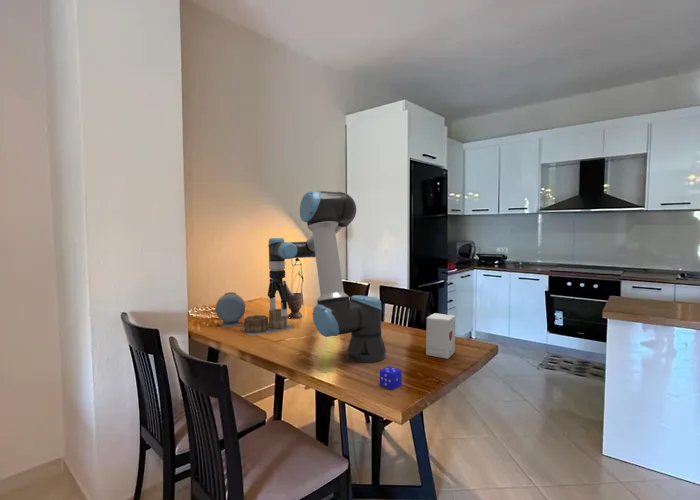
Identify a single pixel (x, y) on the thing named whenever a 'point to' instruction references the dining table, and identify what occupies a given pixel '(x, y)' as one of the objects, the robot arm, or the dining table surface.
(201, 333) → the dining table surface
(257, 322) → the walnut gear
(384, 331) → the dining table surface
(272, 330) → the gear board
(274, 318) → the maple gear
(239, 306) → the alarm clock
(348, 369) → the dining table surface
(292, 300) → the mortar and pestle
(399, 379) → the die
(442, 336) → the supplement box
